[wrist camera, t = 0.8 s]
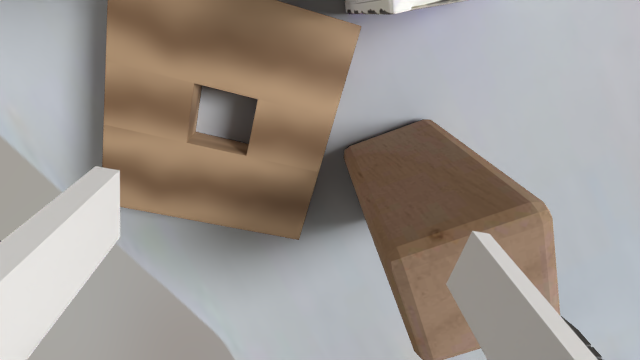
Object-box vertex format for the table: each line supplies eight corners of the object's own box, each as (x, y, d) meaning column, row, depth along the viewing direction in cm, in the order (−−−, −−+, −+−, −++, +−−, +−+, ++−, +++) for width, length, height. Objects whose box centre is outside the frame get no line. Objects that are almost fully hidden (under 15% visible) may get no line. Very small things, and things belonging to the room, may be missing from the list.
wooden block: (339, 146, 38) (384, 263, 20) (429, 113, 37) (560, 204, 19) (365, 220, 42) (422, 373, 24) (447, 192, 42) (568, 328, 23)
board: (128, -44, 30) (109, -51, 27) (354, 25, 33) (361, 26, 30) (116, 187, 38) (101, 203, 35) (298, 222, 42) (298, 239, 38)
